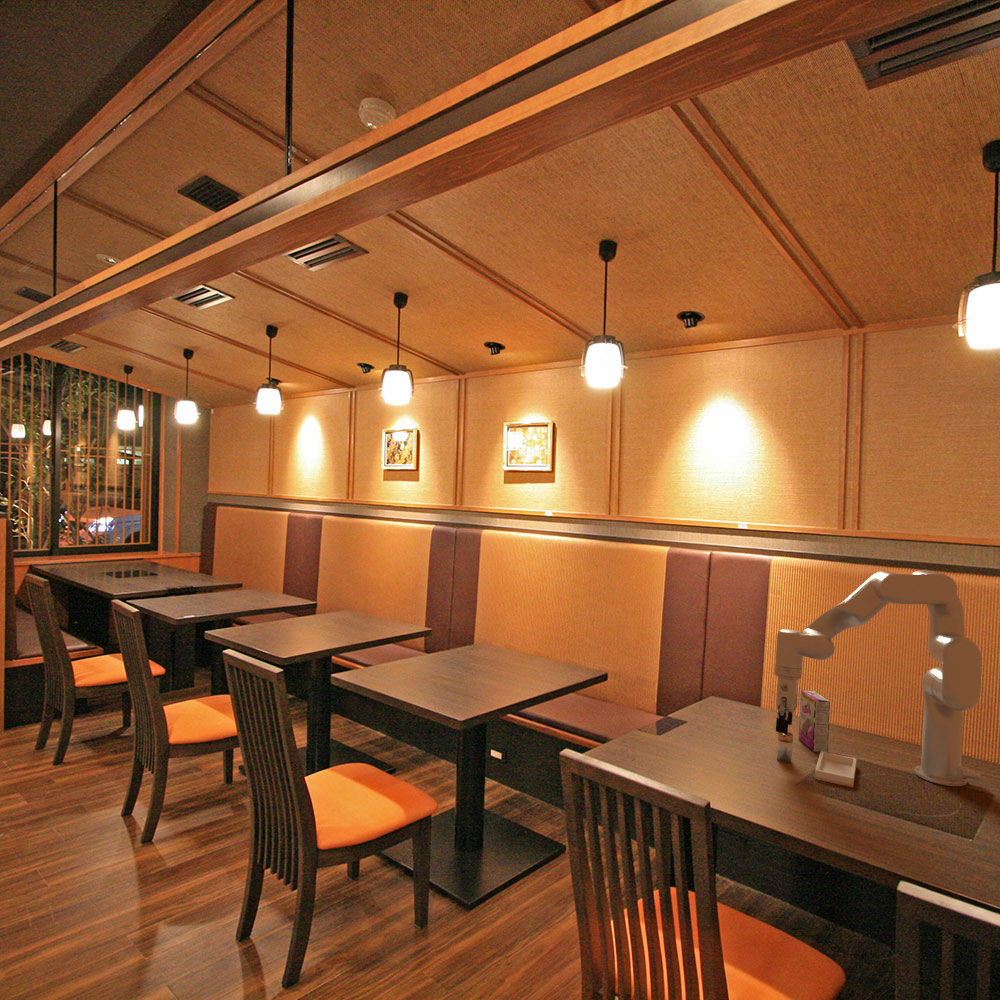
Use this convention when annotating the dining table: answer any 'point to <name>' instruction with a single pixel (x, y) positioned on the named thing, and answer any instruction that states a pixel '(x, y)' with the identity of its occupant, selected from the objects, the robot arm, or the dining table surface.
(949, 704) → the robot arm
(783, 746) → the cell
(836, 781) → the white rectangular tray
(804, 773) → the dining table surface
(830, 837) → the dining table surface
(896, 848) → the dining table surface
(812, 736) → the candy bar box
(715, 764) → the dining table surface
